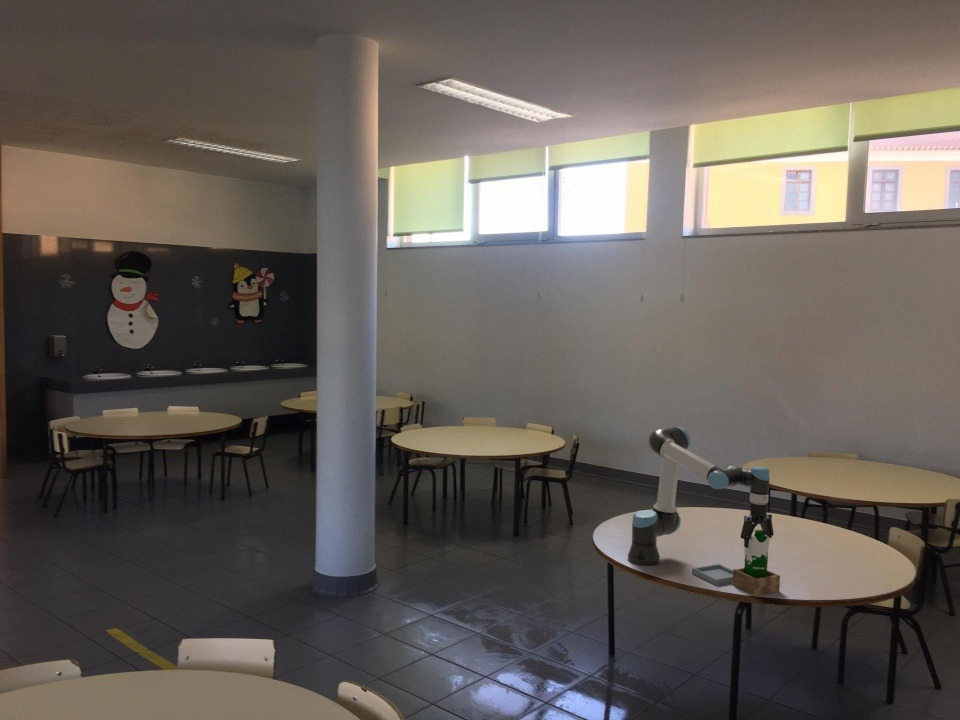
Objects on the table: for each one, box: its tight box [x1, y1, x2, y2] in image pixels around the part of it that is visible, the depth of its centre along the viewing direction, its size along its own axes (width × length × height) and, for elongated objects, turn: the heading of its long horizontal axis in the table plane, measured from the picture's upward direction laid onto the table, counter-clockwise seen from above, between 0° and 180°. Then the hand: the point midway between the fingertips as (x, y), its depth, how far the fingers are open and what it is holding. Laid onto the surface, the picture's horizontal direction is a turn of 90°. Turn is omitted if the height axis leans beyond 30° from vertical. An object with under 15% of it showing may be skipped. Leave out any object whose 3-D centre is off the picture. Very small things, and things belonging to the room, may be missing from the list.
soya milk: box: [743, 529, 771, 578], centre depth 313 cm, size 9×9×20 cm
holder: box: [732, 567, 781, 597], centre depth 314 cm, size 14×14×7 cm
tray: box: [691, 563, 733, 586], centre depth 327 cm, size 16×16×2 cm
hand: (756, 553), depth 313 cm, fingers closed on soya milk, 9 cm apart
